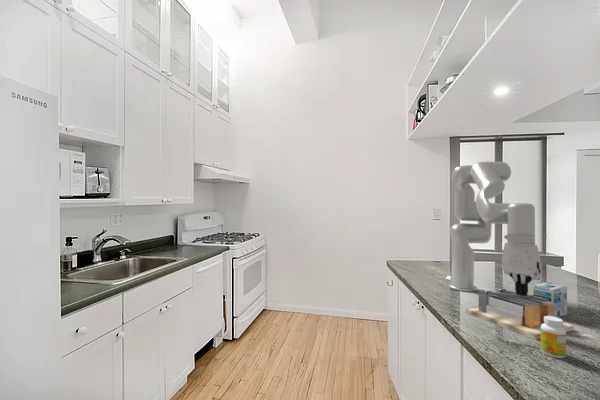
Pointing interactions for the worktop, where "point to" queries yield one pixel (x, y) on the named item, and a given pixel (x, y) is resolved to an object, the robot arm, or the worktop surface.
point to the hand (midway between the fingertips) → (521, 294)
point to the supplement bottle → (553, 337)
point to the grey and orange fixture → (516, 309)
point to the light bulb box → (553, 296)
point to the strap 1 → (507, 294)
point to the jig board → (513, 324)
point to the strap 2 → (530, 298)
